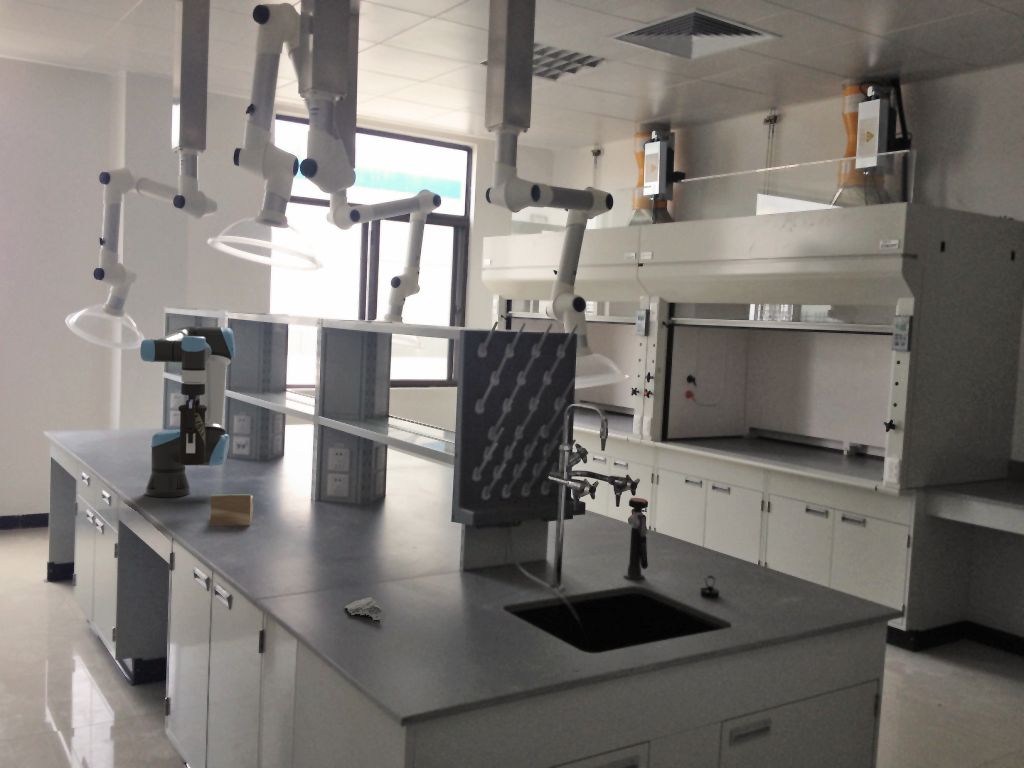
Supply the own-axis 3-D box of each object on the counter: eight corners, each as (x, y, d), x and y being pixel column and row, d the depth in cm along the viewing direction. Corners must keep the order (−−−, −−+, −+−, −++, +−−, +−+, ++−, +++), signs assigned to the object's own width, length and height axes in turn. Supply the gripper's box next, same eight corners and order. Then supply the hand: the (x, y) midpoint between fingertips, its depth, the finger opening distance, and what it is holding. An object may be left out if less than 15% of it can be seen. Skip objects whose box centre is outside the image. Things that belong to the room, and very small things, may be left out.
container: (197, 466, 293) (198, 406, 291) (172, 464, 295) (173, 404, 293) (211, 462, 302) (212, 403, 300) (187, 460, 303) (187, 401, 302)
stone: (355, 626, 200) (356, 608, 199) (342, 608, 211) (342, 591, 210) (383, 624, 202) (384, 606, 202) (368, 606, 213) (369, 589, 213)
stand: (215, 513, 300) (216, 484, 299) (253, 513, 303) (253, 484, 302) (210, 525, 283) (211, 495, 283) (249, 525, 286) (250, 495, 285)
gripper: (185, 380, 305) (184, 445, 307) (176, 385, 285) (175, 455, 287) (208, 380, 307) (207, 446, 309) (201, 385, 287) (200, 456, 289)
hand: (192, 450), depth 298 cm, fingers closed on container, 8 cm apart
